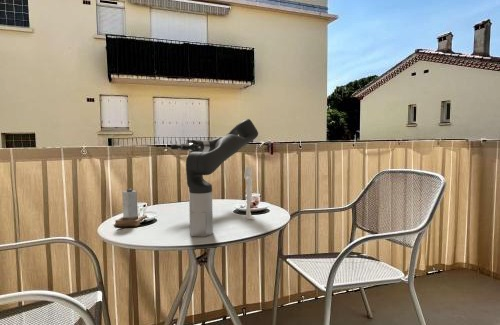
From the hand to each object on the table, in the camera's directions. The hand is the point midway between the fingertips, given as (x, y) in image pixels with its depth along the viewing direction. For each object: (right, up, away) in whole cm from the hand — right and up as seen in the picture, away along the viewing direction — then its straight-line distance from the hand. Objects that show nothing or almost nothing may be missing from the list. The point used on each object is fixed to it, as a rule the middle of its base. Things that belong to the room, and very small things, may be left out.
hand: (176, 147), depth 158 cm
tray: (-17, -35, -16) cm, 42 cm away
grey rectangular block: (-17, -35, -16) cm, 42 cm away
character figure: (+37, -35, -10) cm, 52 cm away
